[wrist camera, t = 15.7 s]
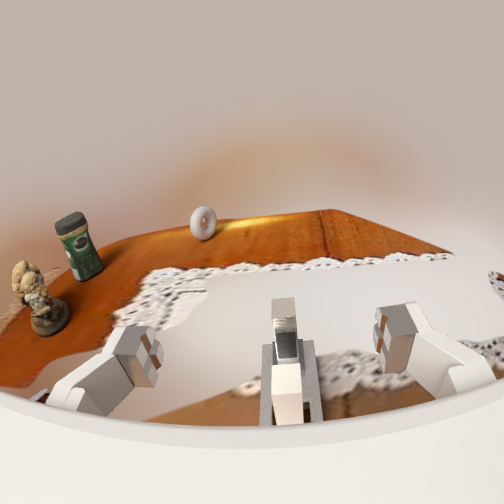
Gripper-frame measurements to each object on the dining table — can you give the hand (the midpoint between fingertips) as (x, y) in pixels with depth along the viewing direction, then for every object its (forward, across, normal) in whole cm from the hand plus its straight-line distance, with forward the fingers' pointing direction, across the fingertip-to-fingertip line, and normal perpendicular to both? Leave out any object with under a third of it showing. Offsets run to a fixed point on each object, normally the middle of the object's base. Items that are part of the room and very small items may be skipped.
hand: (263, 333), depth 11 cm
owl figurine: (+38, +57, +30) cm, 75 cm away
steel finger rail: (+19, 0, +30) cm, 35 cm away
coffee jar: (+60, +56, +30) cm, 87 cm away
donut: (+74, +22, +30) cm, 83 cm away
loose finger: (+12, 0, +30) cm, 32 cm away
